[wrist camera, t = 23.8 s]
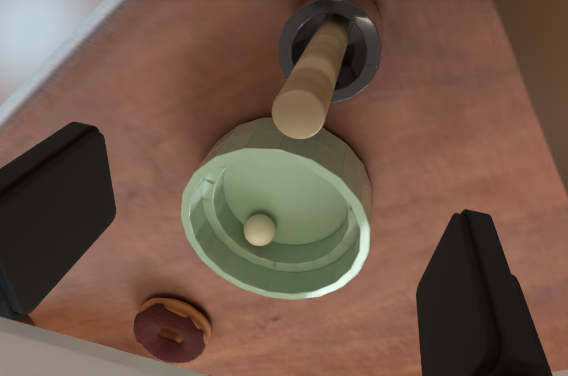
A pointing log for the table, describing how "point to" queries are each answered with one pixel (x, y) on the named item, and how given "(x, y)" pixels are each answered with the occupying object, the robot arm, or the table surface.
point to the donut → (171, 330)
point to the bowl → (280, 211)
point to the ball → (259, 230)
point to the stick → (312, 80)
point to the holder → (360, 48)
